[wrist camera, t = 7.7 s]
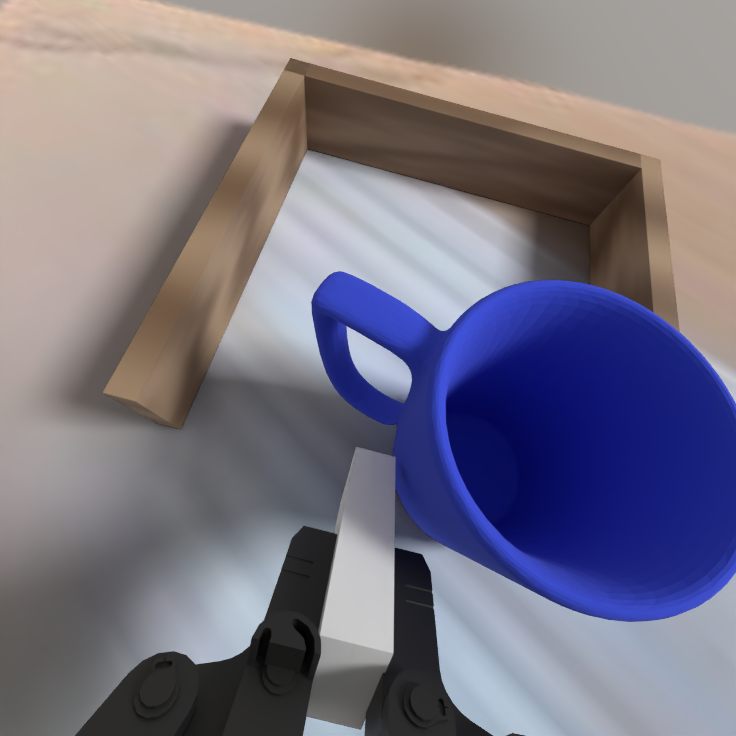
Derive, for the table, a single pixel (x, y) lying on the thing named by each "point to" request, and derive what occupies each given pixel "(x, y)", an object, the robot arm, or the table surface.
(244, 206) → the box
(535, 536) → the mug
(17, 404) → the table surface
